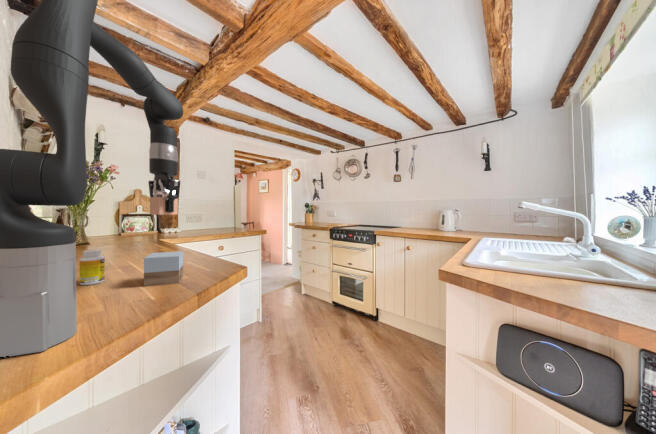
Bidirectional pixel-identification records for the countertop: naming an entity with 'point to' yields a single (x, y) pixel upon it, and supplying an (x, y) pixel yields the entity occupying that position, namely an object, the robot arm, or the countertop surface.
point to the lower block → (163, 277)
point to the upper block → (163, 262)
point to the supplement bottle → (91, 267)
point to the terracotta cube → (161, 206)
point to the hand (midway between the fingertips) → (164, 211)
